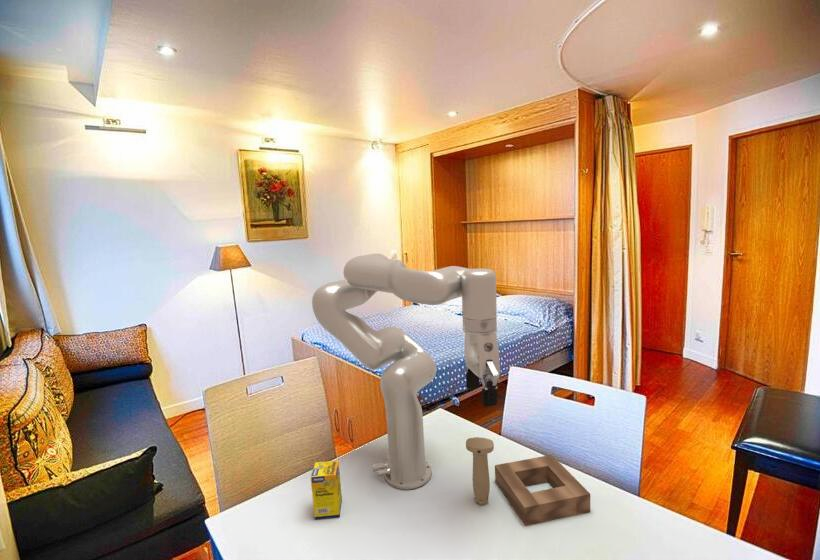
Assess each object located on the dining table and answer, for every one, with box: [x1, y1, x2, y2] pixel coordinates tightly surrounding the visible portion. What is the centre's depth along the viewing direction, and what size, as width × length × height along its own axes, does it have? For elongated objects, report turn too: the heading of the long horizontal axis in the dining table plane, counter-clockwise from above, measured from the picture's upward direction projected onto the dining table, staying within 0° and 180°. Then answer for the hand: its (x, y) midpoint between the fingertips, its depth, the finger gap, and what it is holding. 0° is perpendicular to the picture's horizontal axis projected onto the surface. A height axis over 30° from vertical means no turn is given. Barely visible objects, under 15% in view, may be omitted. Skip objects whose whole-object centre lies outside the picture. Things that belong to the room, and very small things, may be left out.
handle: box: [465, 436, 495, 506], centre depth 96 cm, size 5×6×15 cm
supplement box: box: [310, 460, 343, 521], centre depth 96 cm, size 6×6×11 cm
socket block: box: [494, 454, 591, 527], centre depth 97 cm, size 16×16×4 cm
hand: (480, 396), depth 93 cm, fingers open, 9 cm apart
